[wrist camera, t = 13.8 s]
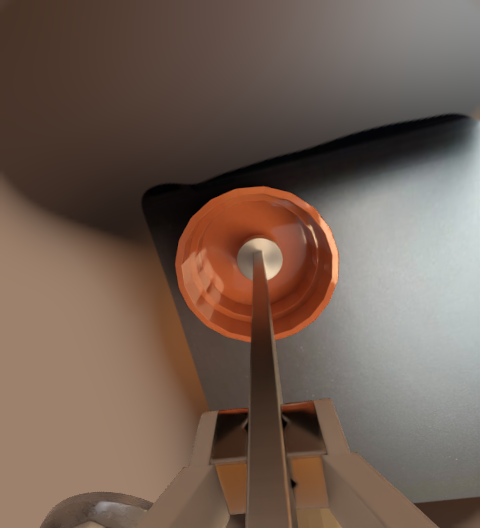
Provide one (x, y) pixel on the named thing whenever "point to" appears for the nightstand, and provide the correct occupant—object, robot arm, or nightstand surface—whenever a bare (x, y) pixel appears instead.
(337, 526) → the crock
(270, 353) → the metal stirring rod
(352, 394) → the nightstand surface
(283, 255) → the bowl
